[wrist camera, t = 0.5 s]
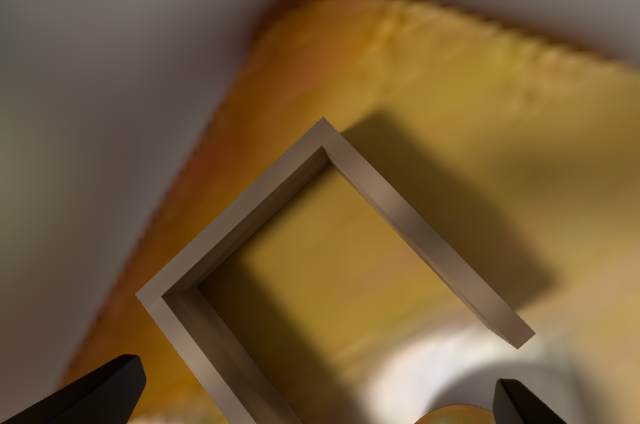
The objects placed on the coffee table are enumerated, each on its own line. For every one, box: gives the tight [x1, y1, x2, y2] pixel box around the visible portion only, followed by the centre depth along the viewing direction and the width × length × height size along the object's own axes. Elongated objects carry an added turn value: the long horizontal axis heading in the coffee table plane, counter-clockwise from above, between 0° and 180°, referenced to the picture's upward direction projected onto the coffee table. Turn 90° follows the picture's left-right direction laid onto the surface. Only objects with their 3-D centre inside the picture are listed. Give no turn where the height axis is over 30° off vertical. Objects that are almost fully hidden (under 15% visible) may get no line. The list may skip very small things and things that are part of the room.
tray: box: [135, 117, 536, 424], centre depth 19 cm, size 16×15×4 cm
